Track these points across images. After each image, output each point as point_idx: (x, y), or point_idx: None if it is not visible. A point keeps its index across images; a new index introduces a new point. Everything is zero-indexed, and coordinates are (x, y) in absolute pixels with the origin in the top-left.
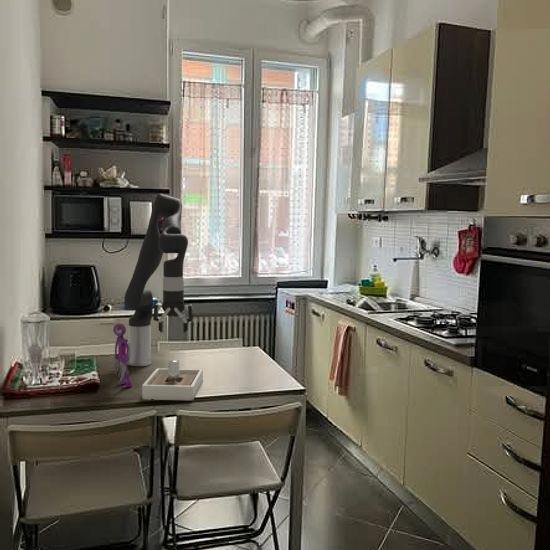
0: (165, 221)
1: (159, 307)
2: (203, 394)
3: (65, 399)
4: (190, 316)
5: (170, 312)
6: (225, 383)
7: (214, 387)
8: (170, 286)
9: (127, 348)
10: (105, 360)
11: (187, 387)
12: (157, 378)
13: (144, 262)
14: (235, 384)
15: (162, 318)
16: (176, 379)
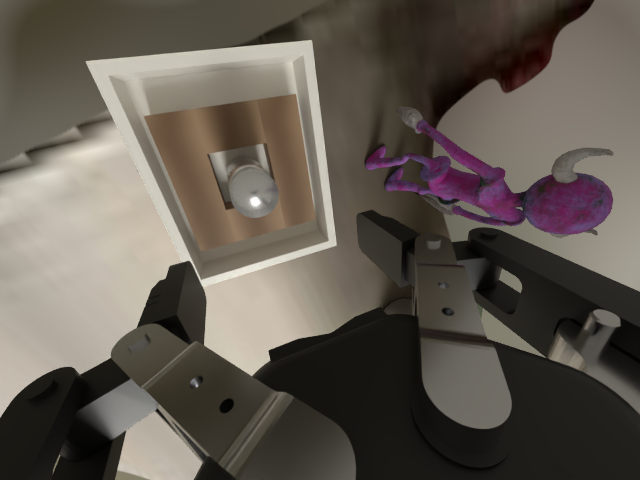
0: None
1: (608, 364)
2: (116, 154)
3: (488, 13)
4: (3, 455)
5: (389, 360)
6: (116, 281)
7: (127, 235)
8: None
9: (460, 149)
10: None
11: (116, 58)
12: (303, 174)
13: None
14: (73, 285)
15: (428, 262)
16: (230, 167)
